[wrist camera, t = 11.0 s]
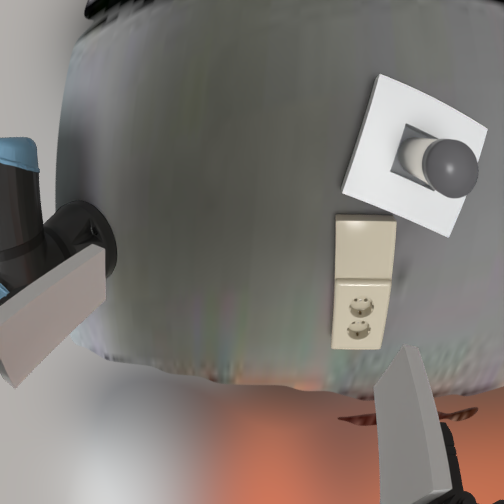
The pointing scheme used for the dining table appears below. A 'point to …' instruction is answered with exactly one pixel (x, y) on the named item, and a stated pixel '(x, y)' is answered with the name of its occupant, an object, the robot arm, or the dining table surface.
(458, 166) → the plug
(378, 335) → the electrical outlet
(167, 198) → the dining table surface
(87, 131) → the dining table surface
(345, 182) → the socket block
